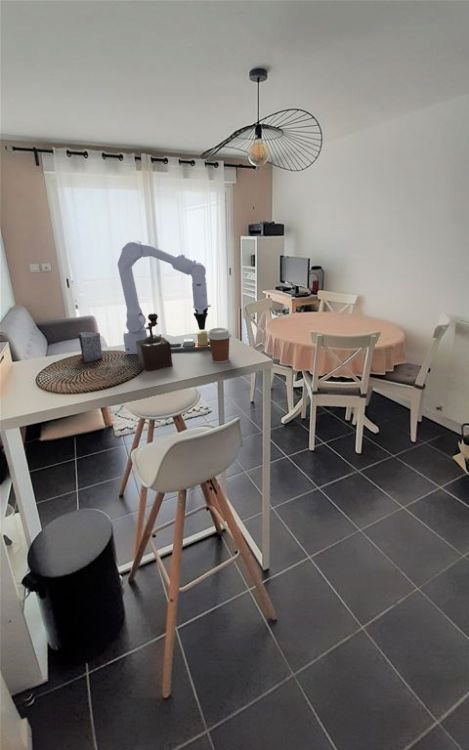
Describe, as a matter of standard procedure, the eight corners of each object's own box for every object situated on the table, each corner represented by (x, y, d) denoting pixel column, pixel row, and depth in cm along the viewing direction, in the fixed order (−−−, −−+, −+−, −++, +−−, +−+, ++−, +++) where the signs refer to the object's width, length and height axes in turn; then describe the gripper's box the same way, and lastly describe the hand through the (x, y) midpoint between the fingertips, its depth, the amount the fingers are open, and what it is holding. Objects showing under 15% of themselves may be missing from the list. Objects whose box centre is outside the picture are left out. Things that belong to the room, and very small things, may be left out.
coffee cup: (224, 354, 145) (223, 325, 140) (236, 360, 137) (235, 330, 133) (204, 359, 140) (202, 329, 136) (216, 366, 133) (214, 335, 128)
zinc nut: (184, 350, 152) (183, 341, 150) (185, 347, 155) (184, 338, 154) (194, 350, 152) (193, 341, 150) (194, 347, 155) (193, 338, 154)
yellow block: (198, 349, 152) (197, 333, 149) (198, 346, 155) (197, 331, 153) (208, 349, 152) (206, 333, 149) (208, 346, 156) (206, 330, 153)
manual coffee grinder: (175, 365, 135) (169, 318, 128) (146, 372, 130) (139, 323, 123) (161, 354, 148) (155, 311, 141) (134, 360, 143) (127, 315, 136)
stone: (78, 367, 142) (77, 353, 149) (104, 367, 147) (102, 353, 154) (78, 342, 136) (77, 328, 143) (106, 343, 140) (103, 329, 147)
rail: (165, 352, 150) (164, 348, 149) (167, 347, 156) (166, 343, 156) (212, 350, 151) (212, 346, 150) (212, 344, 157) (212, 341, 157)
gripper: (209, 297, 138) (211, 331, 144) (209, 291, 152) (211, 322, 157) (191, 298, 138) (194, 332, 143) (193, 291, 152) (195, 323, 157)
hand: (202, 327), depth 150 cm, fingers open, 7 cm apart
